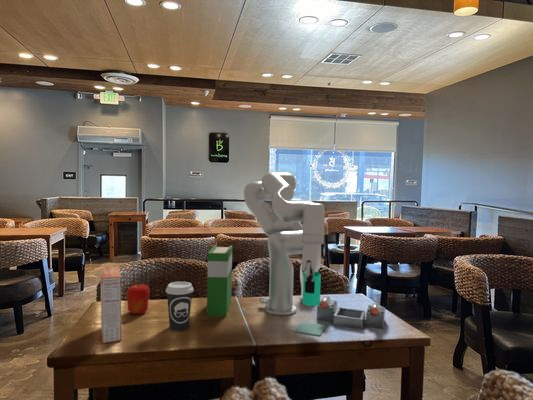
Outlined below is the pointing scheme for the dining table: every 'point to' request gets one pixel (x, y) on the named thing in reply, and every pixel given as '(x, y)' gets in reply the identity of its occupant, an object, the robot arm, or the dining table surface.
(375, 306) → the right plunger
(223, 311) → the hardback book
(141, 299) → the apple
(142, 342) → the dining table surface
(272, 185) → the robot arm
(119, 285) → the cracker box
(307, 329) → the pad
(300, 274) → the beer glass
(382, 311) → the housing
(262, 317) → the dining table surface
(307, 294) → the candle
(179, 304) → the coffee cup
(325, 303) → the left plunger
